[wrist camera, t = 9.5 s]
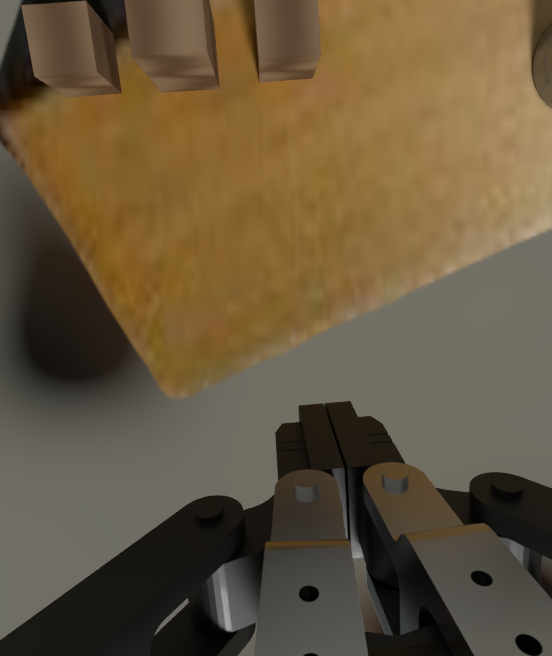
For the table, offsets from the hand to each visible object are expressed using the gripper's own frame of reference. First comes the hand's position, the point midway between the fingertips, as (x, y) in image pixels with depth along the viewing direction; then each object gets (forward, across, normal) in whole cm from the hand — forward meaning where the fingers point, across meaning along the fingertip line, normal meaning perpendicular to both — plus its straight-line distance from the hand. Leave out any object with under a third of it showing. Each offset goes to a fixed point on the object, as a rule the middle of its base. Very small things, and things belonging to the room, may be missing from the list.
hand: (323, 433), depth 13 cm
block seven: (+35, +16, -21) cm, 44 cm away
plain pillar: (+35, +7, -21) cm, 41 cm away
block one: (+35, -2, -21) cm, 41 cm away
